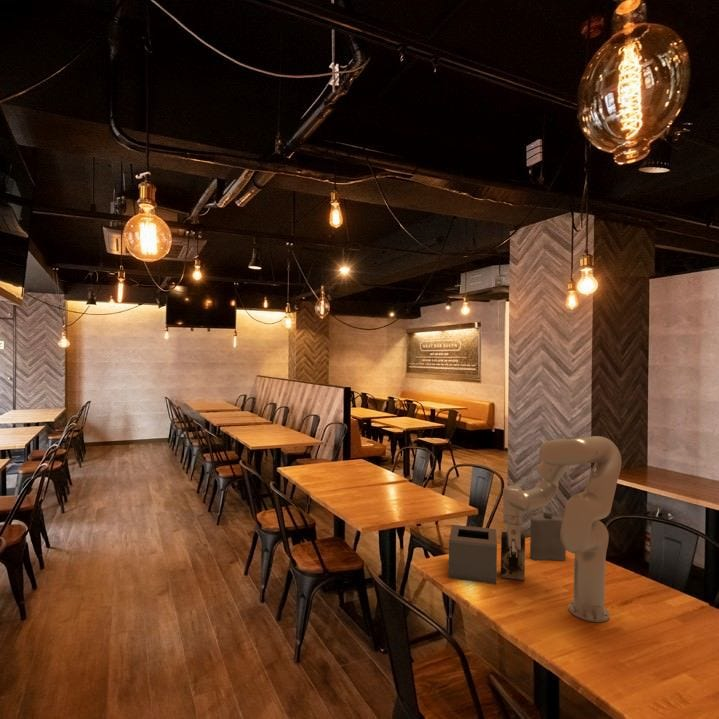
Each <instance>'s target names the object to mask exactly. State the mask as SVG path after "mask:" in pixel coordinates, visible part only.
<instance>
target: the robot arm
mask: <svg viewBox="0 0 719 719" xmlns="http://www.w3.org/2000/svg"><path fill="white" fill-rule="evenodd" d="M538 456H539V459H540V460H541V461H540V463H539V464H538V466H537V467H536V472H537V475H539V477H540V478H541V480H540V482H539V483H538V485H537V486H536V487H535V488H531V489H526V490H523V488H521V487H520V486H517V485H507V486H504V488H503V490H502V522H503V523H505V528H506V529H505V530H506V531H505V532H506V535H507V545H508V549H510V556H509V567H513V568H517V567H518V557H517V549H518V550H521V534H522V532H521V525H522V524H524V517H523V516H524V512H525V513H526V512H532V511H535V510H540V509H543V508H545V507H547V505H549V504H550V502H551V501H552V500H553V498H554V497H555V496H556V495H557V493H558V490H559V485H560V484H559V481H560V479H561V478H562V477H563V475H564V474H565V472H566V471H567V470H568V468H569V467H570V466H573V465H578V466H579V465H586V464H591V463H594V465H593V468H592V469H591V471H590V472H589V475H588V479H587V484H586V487H585V490H584V491H582V492H577V493H575V494H572V496H570V498H568V501H567V502H566V505H565V508H564V512H563V513H564V514H563V516H562V517H563V521H562V526H561V531H560V539H561V543H562V545H563V546H564V548H565V549H566V552H569V553H570V554H574V560H573V562H574V565H573V600H572V601H571V602H569V604H568V610H569V612H570V613H571V614H572V615H573V616H575V617H576V618H579V619H581V620H584V621H586V622H592V623H603V622H606V621H609V619H610V612H609V610H608V609H607V608H605V600H606V599H605V597H606V596H605V595H606V594H605V593H606V592H605V591H606V585H605V584H606V557H607V550H608V545H609V539H610V538H609V536H610V534H609V531H608V528H607V527H606V526H605V524H604V523H603V522H602V521H601V520H602V519H605V518H607V517H609V515H610V513H611V511H612V508H613V507H612V506H613V502H614V497H615V494H616V490H617V489H616V488H617V485H618V480H619V476H620V474H621V471H622V470H621V469H622V455H621V452H620V449H618V447H617V445H616V444H615V443H614V442H613V441H612V440H611V439H610V438H607V437H604V436H600V435H597V436H596V435H593V436H585V437H578V438H570V439H569V438H568V439H565V438H559V439H551V440H547V441H545V442H543V443H542V444H541V445H540V447H539V450H538ZM511 547H512V549H511ZM515 547H516V549H515ZM511 550H512V552H511Z"/></svg>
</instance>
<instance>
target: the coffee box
mask: <svg viewBox="0 0 719 719" xmlns="http://www.w3.org/2000/svg"><path fill="white" fill-rule="evenodd" d="M500 534H501V537H500V538H501V540H500V543H501V546H500V578H504V579H505V578H507V579H512V580H521V581H525V578H526V577H525V573H526V570H525V567H526V561H525V560H526V535H525V533H521V550H518V549H517V557H518V567H517V568H513V567H509V556H510V549H508V545H507V535H506V531H501V533H500ZM511 549H512V547H511ZM515 549H516V547H515ZM511 552H512V550H511Z"/></svg>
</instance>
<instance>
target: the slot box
mask: <svg viewBox="0 0 719 719" xmlns="http://www.w3.org/2000/svg"><path fill="white" fill-rule="evenodd" d="M497 538H498V537H497V529H496V528H491V527H490V528H488V527H481V526H480V527H479V526H470V525H461V524H460V525H459V524H452V525H451V529H450V533H449V539H448V579H453V580H454V579H455V580H460V581H469V582H477V583H483V582H485V583H484V584H491V583H493V585H497V567H498V565H497V562H498V560H497V558H498V540H497Z"/></svg>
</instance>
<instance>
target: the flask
mask: <svg viewBox="0 0 719 719" xmlns="http://www.w3.org/2000/svg"><path fill="white" fill-rule="evenodd" d="M562 521H563V516H558V515H557V516H555V515H554V516H553V512H551V511H549V510H545V511H543V515H533V516H531V517H530V535H529V536H530V537H529V538H530V541H529V542H530V543H529V544H530V545H529V547H530V548H529V549H530V551H529V558H530V559H531V560H533V559H534V560H533V561H537V560H539V561H556V560H561V561H560V562H564V561H566V557H567V556H566V554H567V553H566V552H567V550H566V549H565V548H564V546H563V545H562V543H561V539H560V531H561V526H562Z"/></svg>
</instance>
